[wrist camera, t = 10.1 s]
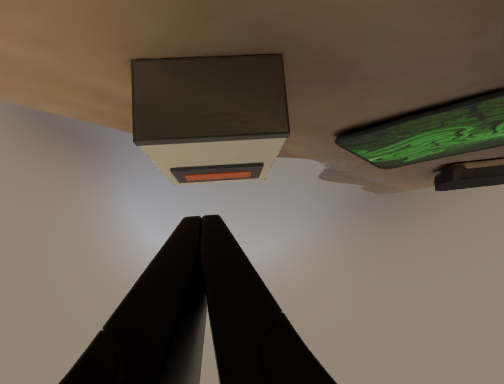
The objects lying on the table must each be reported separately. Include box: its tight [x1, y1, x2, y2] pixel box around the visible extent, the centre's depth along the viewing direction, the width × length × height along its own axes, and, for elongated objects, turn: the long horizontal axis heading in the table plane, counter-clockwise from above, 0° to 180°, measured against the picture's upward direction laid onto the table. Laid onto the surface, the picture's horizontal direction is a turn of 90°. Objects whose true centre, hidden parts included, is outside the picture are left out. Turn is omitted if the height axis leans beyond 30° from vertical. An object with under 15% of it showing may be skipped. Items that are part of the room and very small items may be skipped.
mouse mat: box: [335, 91, 504, 169], centre depth 38 cm, size 27×22×1 cm
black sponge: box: [434, 158, 504, 191], centre depth 61 cm, size 16×8×4 cm, turn 101°
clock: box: [131, 54, 290, 185], centre depth 28 cm, size 5×9×14 cm
